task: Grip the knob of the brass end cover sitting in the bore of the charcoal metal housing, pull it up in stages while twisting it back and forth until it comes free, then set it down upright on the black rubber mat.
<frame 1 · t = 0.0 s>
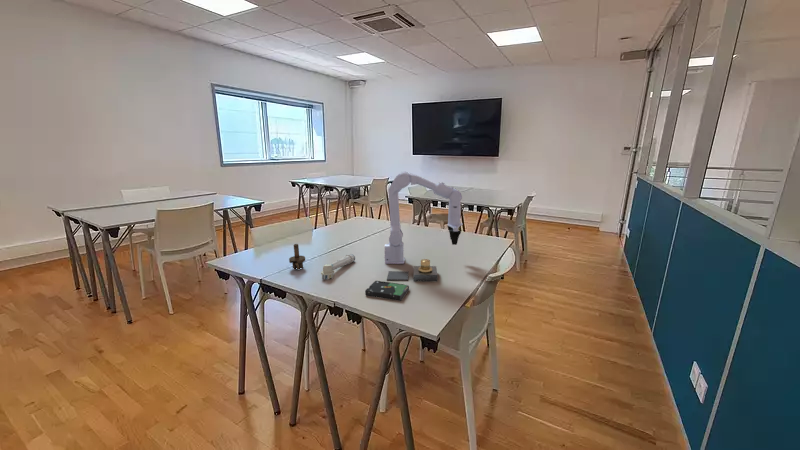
hand: (453, 242, 157), 10 cm above the table, tool pointing down, fingers open, 7 cm apart
disk drive: (387, 294, 128), on the table
industrial component: (299, 268, 155), on the table
mat: (397, 276, 143), on the table
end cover: (425, 268, 141), in the housing
toothbrush head: (339, 270, 151), on the table
housing: (425, 276, 142), on the table
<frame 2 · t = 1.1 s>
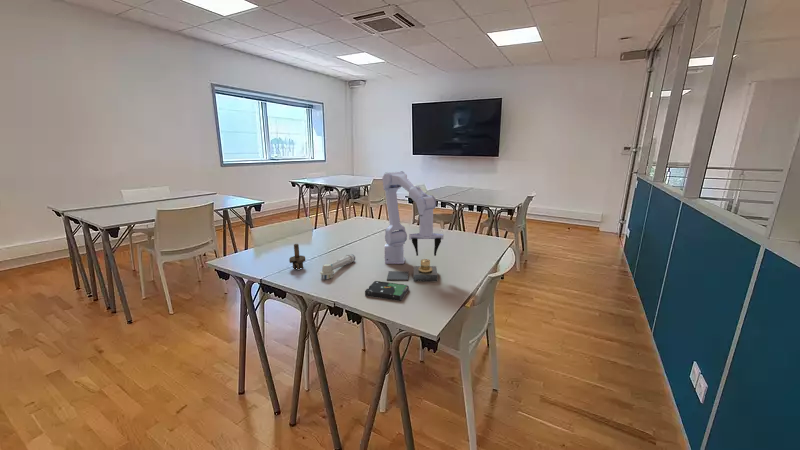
hand: (426, 255, 140), 10 cm above the table, tool pointing down, fingers open, 7 cm apart
nothing on the table moved.
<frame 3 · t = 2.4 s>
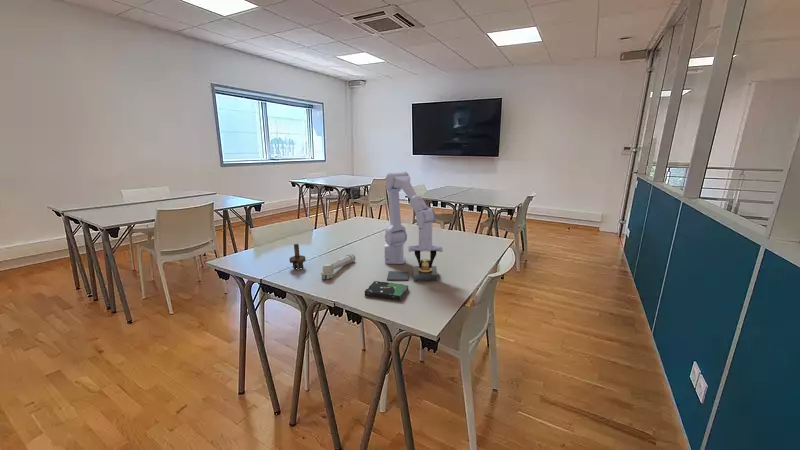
hand: (425, 267, 141), 5 cm above the table, tool pointing down, fingers closed on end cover, 4 cm apart
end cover: (425, 268, 141), in the housing, touching gripper
everything else where it was.
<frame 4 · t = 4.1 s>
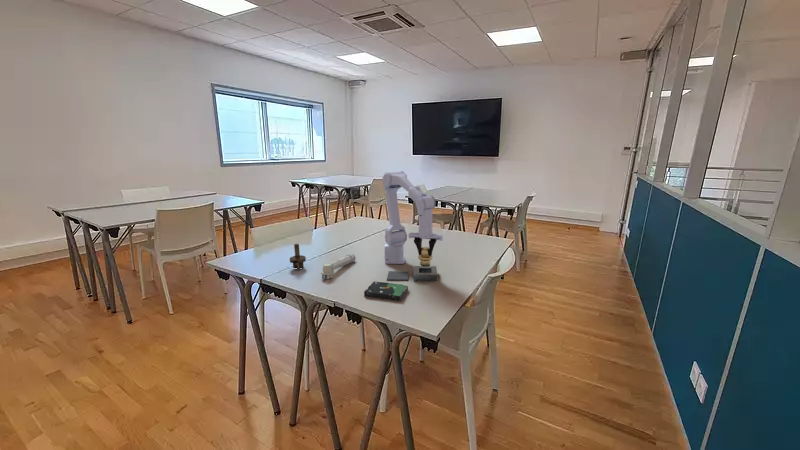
hand: (425, 254, 140), 10 cm above the table, tool pointing down, fingers closed on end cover, 4 cm apart
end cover: (425, 256, 140), point 9 cm above the table, touching gripper
everything else where it was.
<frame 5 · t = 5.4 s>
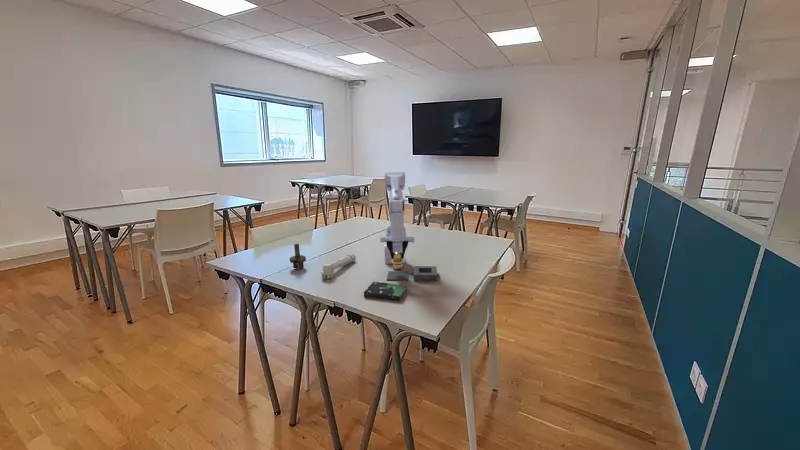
hand: (397, 257, 141), 9 cm above the table, tool pointing down, fingers closed on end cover, 4 cm apart
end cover: (397, 260, 141), point 7 cm above the table, touching gripper
when the fingers open (6 cm above the table, at t = 6.2 s): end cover stays where it is, resting on mat.
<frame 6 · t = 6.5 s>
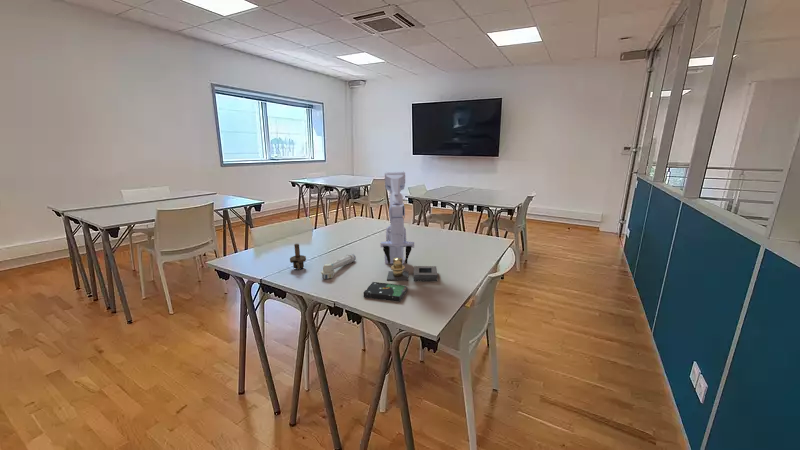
hand: (397, 262, 141), 6 cm above the table, tool pointing down, fingers open, 7 cm apart
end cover: (397, 267, 142), on the mat, point 4 cm above the table
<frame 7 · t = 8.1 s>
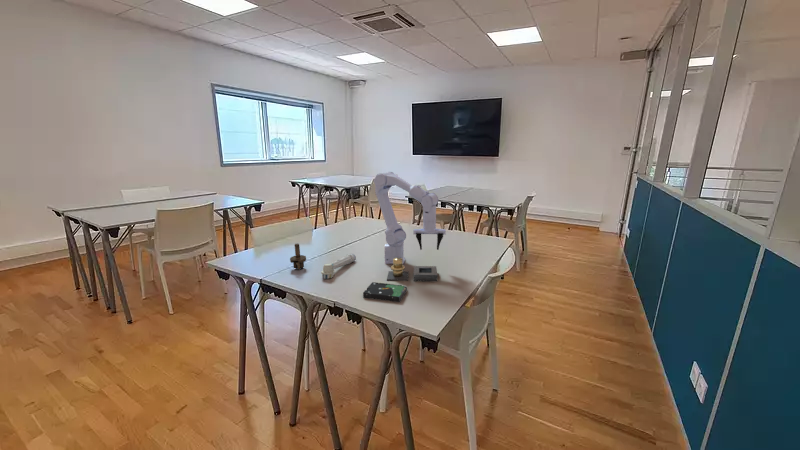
hand: (429, 249, 149), 9 cm above the table, tool pointing down, fingers open, 7 cm apart
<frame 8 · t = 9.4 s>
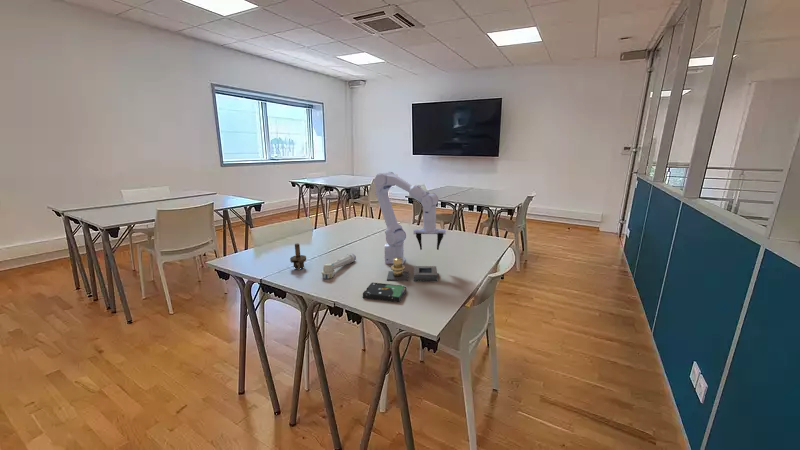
hand: (429, 249, 149), 9 cm above the table, tool pointing down, fingers open, 7 cm apart
at the end: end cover 0.1 cm off-centre on the mat, point 4.3 cm above the mat's base; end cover tilted 0°; the gripper is holding nothing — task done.
